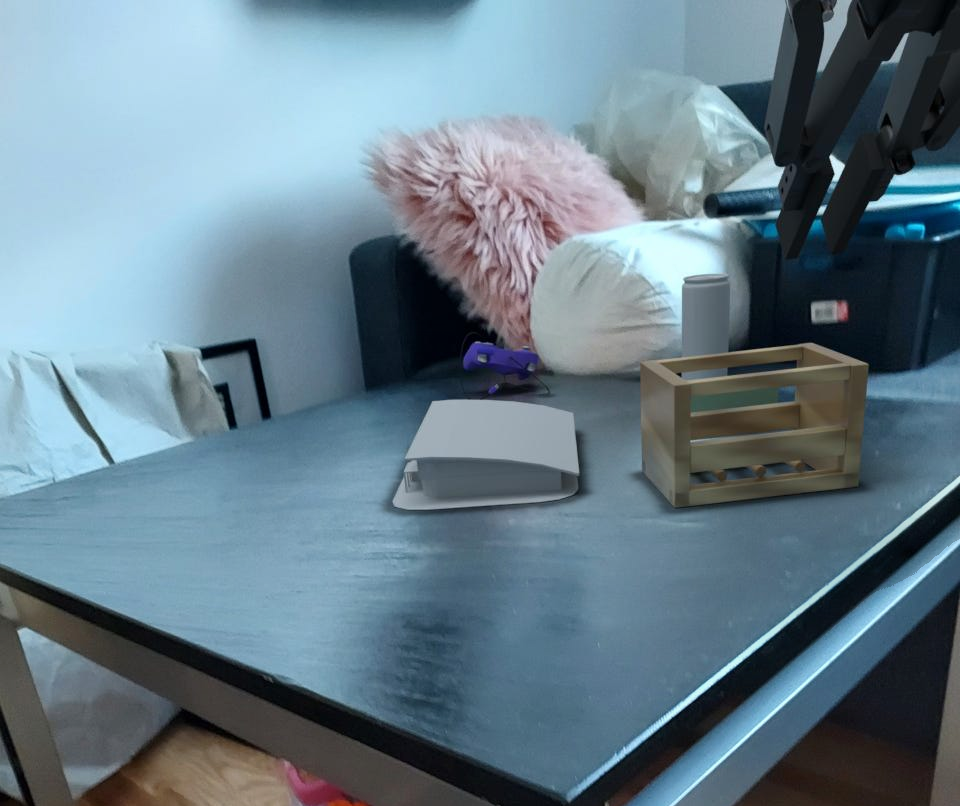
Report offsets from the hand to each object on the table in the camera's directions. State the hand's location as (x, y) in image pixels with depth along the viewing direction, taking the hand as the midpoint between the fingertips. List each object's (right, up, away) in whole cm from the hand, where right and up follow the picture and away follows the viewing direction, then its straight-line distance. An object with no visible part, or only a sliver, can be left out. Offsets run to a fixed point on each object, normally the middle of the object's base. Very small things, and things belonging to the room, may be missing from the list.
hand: (809, 238), depth 58 cm
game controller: (-17, +4, +54) cm, 57 cm away
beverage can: (+4, +2, +44) cm, 44 cm away
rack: (+1, -12, +17) cm, 21 cm away
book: (-19, -9, +27) cm, 34 cm away
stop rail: (+4, -2, +36) cm, 36 cm away
